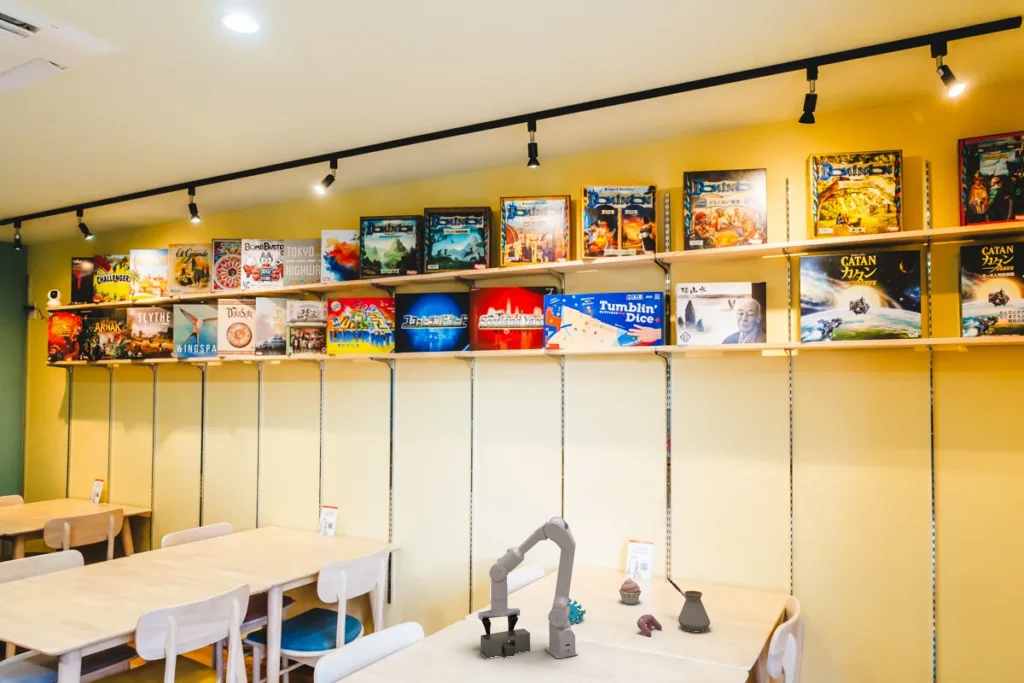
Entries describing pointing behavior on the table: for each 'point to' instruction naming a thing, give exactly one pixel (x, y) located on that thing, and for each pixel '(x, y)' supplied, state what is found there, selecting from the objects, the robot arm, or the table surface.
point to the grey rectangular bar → (508, 649)
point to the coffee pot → (692, 611)
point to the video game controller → (648, 624)
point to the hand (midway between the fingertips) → (499, 638)
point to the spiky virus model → (575, 612)
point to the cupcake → (630, 592)
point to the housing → (493, 642)
